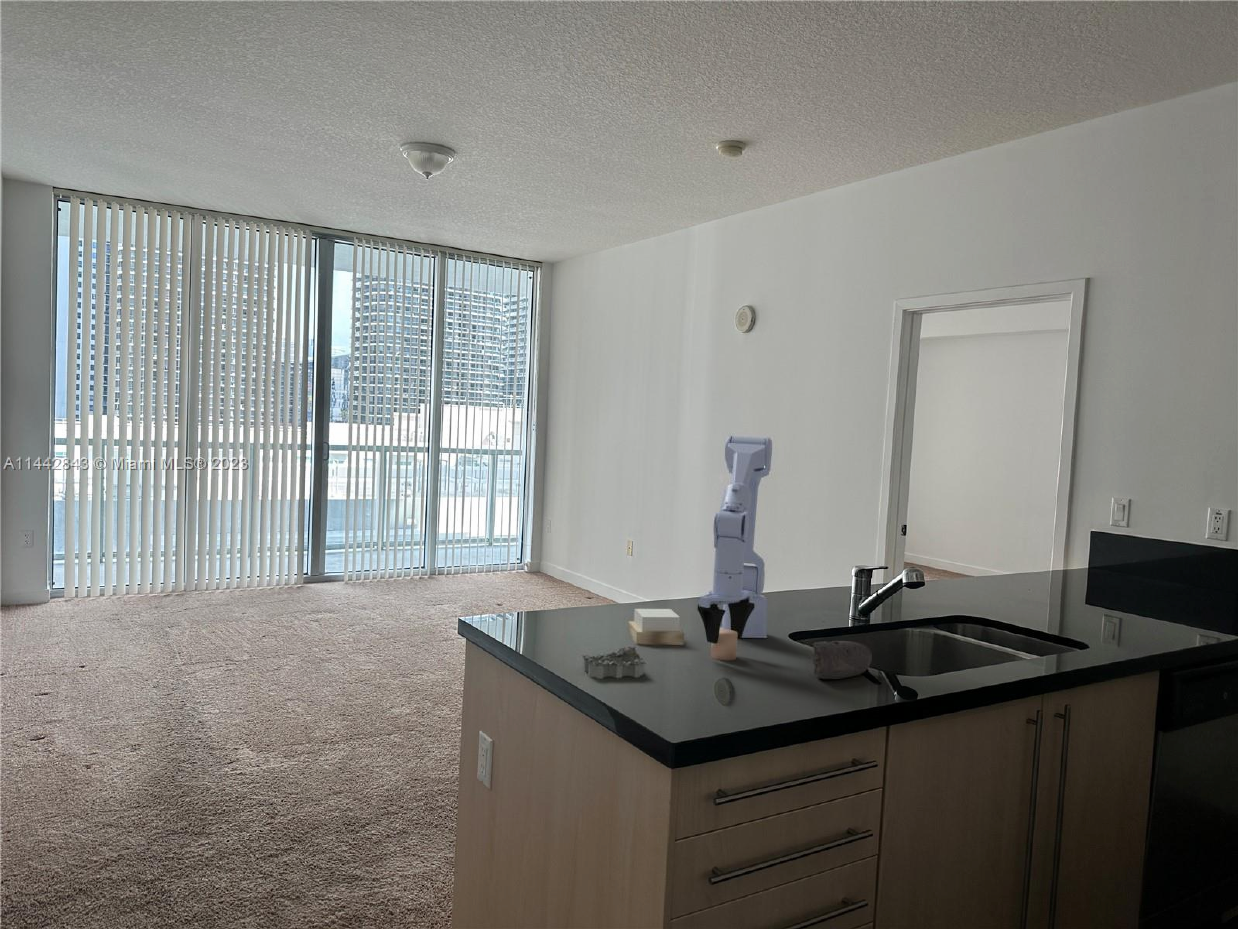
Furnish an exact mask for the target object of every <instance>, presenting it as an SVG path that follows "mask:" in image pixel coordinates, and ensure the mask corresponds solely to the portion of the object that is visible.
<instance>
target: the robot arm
mask: <svg viewBox="0 0 1238 929" xmlns="http://www.w3.org/2000/svg"><path fill="white" fill-rule="evenodd" d="M772 452H773V440H772V439H771V438H770V437H752V436H735V435H734V436H733V435H728V437H727V438H726V440H725V446H724V459H725V464H726V467H727V469H728V470H727V471H728V473H730V474H731V483H730V484H728V485H727V486H726V487H725V488H724V490H723V495H722V498H721V499H722V500H721V503H720V504H721V505H720V508H719V513H718V512H716V513H715V515H714V517H713V518H714V520H713V526H712V528H713V539H714V540H713V548H714V549H715V551H714V566H713V567H714V568H713V582H712V590H709V591H708V593H706V594H704V595H699V603H698V604H697V609H696V610H697V612H698V613H699V615H700V618H701V620H702V623H703V628H704V631H705V636H706V642H707V643H711V644H712V643H714V644H716V643H717V642H718V638H719V631H720V629H727V630H733V631H736V632H737V633H738V635H737V640H738V639H742V638H747V639H748V638H750V639H751V638H752V639H757V638H758V639H767V638H768V635H767V624H768V601H767V598H766V596H764V595H761V594H762V593H763V592H764V588H765V586H764V585H765V577H766V576H765V575H766V574H765V572H766V571H765V562H764V559H763V558H762V557H761V556H760V555H758V553H756V552H755V550H754V545H755V533H756V532H755V530H756V521H757V520H756V518H757V504H758V496H759V495H758V494H759V486H760V483H761V481H762V480H761V479H762V478H765V477H767V476H769V474H770V472H771V464H772V454H773V453H772ZM747 564H751V565H747ZM721 605H723V606H722V609H721V608H720V607H719V606H721ZM721 624H722V626H721Z"/></svg>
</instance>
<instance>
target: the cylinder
mask: <svg viewBox="0 0 1238 929" xmlns="http://www.w3.org/2000/svg"><path fill="white" fill-rule="evenodd" d="M737 635H738V633H737V632H736V631H733V630H727V629H720V631H719V638H718V642H717V643H716V644H714V643H711V648H710V657H711V658H713V659H716V660H720V661H733V660H736V659H737V653H738V652H737V651H738V650H737V647H738V638H737Z"/></svg>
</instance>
